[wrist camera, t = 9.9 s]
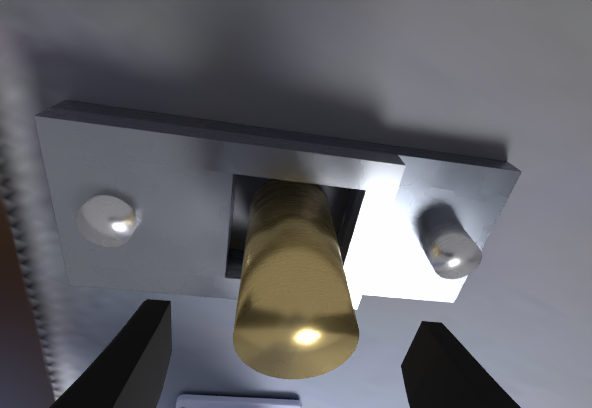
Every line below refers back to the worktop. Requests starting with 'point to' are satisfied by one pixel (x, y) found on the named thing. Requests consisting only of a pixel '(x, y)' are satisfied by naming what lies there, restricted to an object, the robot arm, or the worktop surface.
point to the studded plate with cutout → (221, 192)
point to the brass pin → (293, 286)
